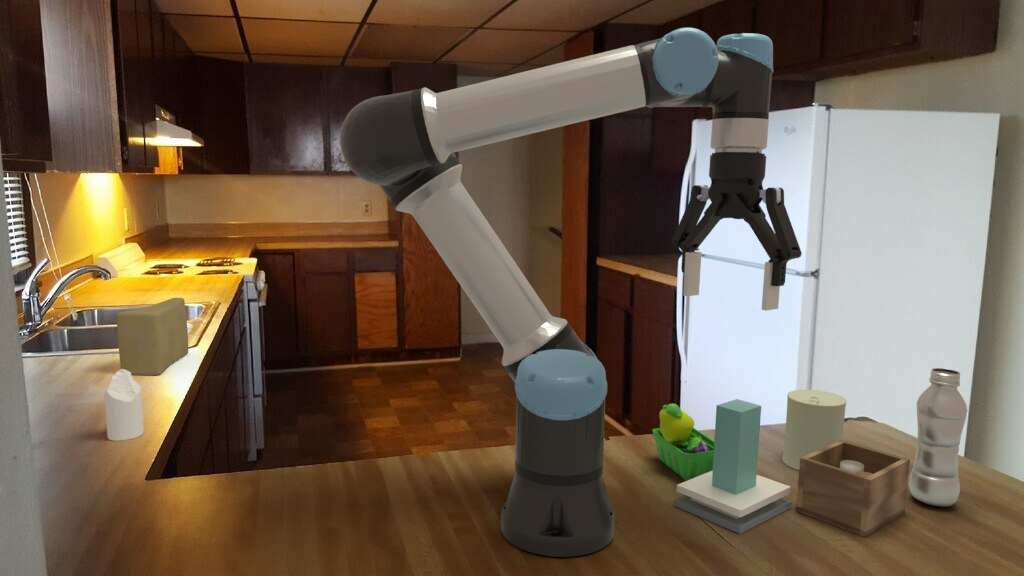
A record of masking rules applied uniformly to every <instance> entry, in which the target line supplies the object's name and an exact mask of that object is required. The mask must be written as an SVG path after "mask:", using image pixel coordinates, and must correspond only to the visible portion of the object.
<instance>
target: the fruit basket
mask: <svg viewBox="0 0 1024 576" xmlns="http://www.w3.org/2000/svg"><path fill="white" fill-rule="evenodd" d="M658 417H659V428H658V427H657V428H653V429H652V431H651V432H652V435H653V437H654V440H655V444H656V449H657V454H658V457H659V458H658V459H659V461H661V462H662V463H664V464H665V466H667V467H668V468H669V469H672V470H673V472H674V473H676V474H677V475H679V476H680V477H681V478H682V479H684V481H688V480H690V479H693V478H695V477H698V476H700V475H703V474H705V473H708V472H710V471H713V457H714V440H713V439H711V438H710V437H708V436H707V435H706V434H704V433H702V432H701V431H699V430H697V429H696V428H695V427H694V426H695V420H694V418H693V417H691V416H690V415H689V414H688V413H687V412H685V411H683V410H682V409H681V407H679V405H678V404H676V403H669V404H664V405H662V409H660V411H659V415H658Z"/></svg>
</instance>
